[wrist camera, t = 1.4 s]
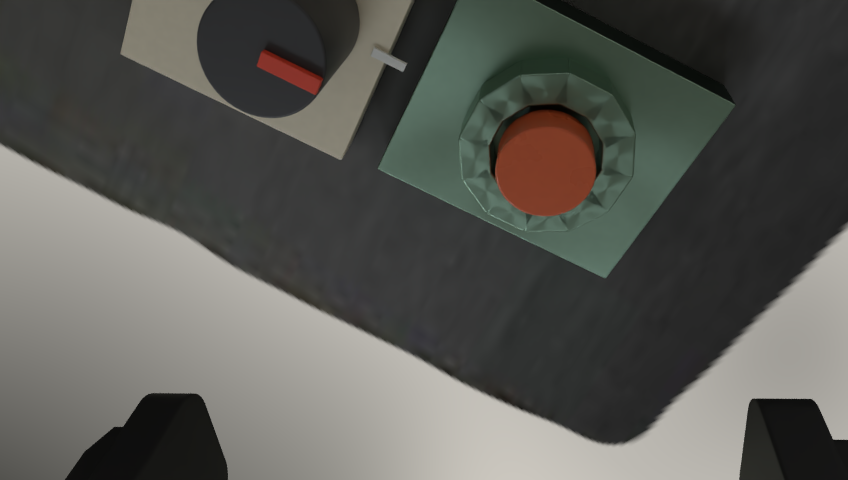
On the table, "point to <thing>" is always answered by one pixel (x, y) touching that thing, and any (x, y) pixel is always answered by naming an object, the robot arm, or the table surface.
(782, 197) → the table surface
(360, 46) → the control panel
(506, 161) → the button
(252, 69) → the dial
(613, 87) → the button box
